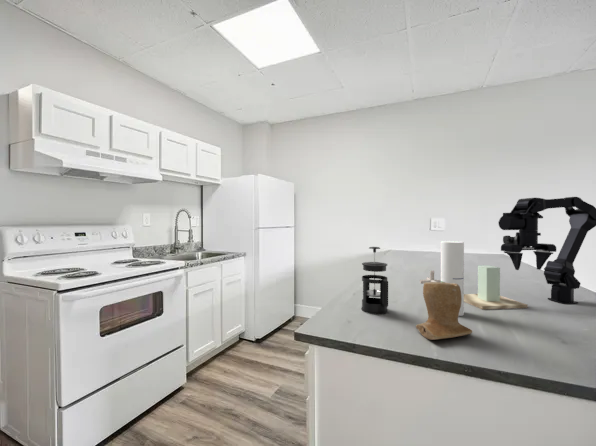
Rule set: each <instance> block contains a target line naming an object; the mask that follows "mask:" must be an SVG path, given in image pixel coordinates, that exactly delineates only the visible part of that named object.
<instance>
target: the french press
mask: <svg viewBox="0 0 596 446" xmlns="http://www.w3.org/2000/svg"><path fill="white" fill-rule="evenodd" d="M368 249H371V250H372V251H373V261H365V262H362V263H361V265H362V267H363V268H362V269H363V270H364V271H366V272H372V273H373V274H365V275H364V274H363V275H362V276H361V281H362V299H361V311H363V312H364V313H367V314H370V315H371V314H372V315H384V314H387V313H388V312H389V309H388V307H389V281H388V277H387V276H385V275H381V274H376V272H377V273H378V272H386V271H387V266H388V263H385V262H378V261H376V252H377V250H379V249H381V247H380V246H370V247H368ZM370 284H373V288H372V289H370ZM376 284H377V285H378V284H379V289H376Z"/></svg>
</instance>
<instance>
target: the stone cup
mask: <svg viewBox="0 0 596 446" xmlns="http://www.w3.org/2000/svg"><path fill="white" fill-rule="evenodd" d="M422 287H423V288H422V294H423V295H422V296H423V298H424V302H425V306H426V311H427V315H428V318H427V320H426V321H425V322H422V323H418V324H416V325H415V327H416V329H417V330H418V332H419V333H420V335H422V336H423V337H424V338H425V339H427V340H430V341H431V340H433V341H435V340H436V341H437V340H445V339H451V338H456V337H462V336H467V335H471V334H472V333H473V330H472V329H470V328H469V327H467V326H465V325H463V324H461V323H460V322H459V316H458V315H459V311H460V307H461V300H462V298H461V289H460V286H459V285H458V284H455V283H444V282H425V283H424V284H423V286H422Z"/></svg>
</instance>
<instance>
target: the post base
mask: <svg viewBox="0 0 596 446" xmlns="http://www.w3.org/2000/svg"><path fill="white" fill-rule="evenodd" d="M464 303H465V304H469V305H471V306H473V307H476V308H477V309H480V310H505V309H508V310H509V309H510V310H511V309H528V304H526V303H525V302H524V303H523V302H521V301H517V300H515V299H512V298H508V297H505V296H503V295H500V301H485V300H482V299H480V298H478V293H467V294H466V293H464Z"/></svg>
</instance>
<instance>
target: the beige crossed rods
mask: <svg viewBox="0 0 596 446" xmlns="http://www.w3.org/2000/svg"><path fill="white" fill-rule="evenodd" d="M425 282H441V279H435V270H432V269H430V270H429V277H428V276H427V277H426V279H419V284H421V285H422V284H423V285H424V283H425Z"/></svg>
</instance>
